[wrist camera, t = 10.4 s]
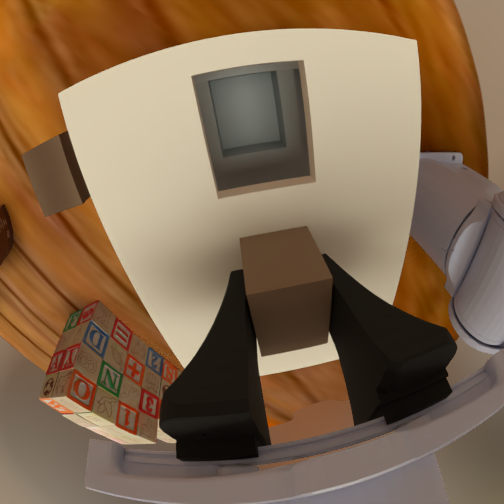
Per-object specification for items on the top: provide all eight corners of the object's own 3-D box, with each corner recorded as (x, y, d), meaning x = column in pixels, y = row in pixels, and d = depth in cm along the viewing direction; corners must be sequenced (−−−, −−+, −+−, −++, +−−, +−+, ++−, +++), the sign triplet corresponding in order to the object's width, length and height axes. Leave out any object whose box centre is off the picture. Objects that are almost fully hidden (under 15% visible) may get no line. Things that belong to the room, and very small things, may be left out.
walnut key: (111, 113, 16) (58, 134, 10) (124, 161, 18) (82, 203, 12) (79, 126, 16) (21, 155, 10) (93, 171, 18) (45, 217, 12)
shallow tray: (335, 56, 15) (352, 54, 13) (340, 272, 27) (351, 293, 24) (138, 87, 15) (123, 88, 13) (202, 298, 27) (201, 320, 24)
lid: (406, 40, 8) (475, 42, 4) (374, 339, 20) (393, 383, 16) (67, 91, 8) (2, 109, 4) (195, 375, 20) (195, 424, 16)
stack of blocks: (202, 385, 38) (204, 459, 28) (171, 392, 39) (168, 461, 29) (98, 298, 26) (64, 398, 16) (68, 313, 27) (36, 400, 17)
